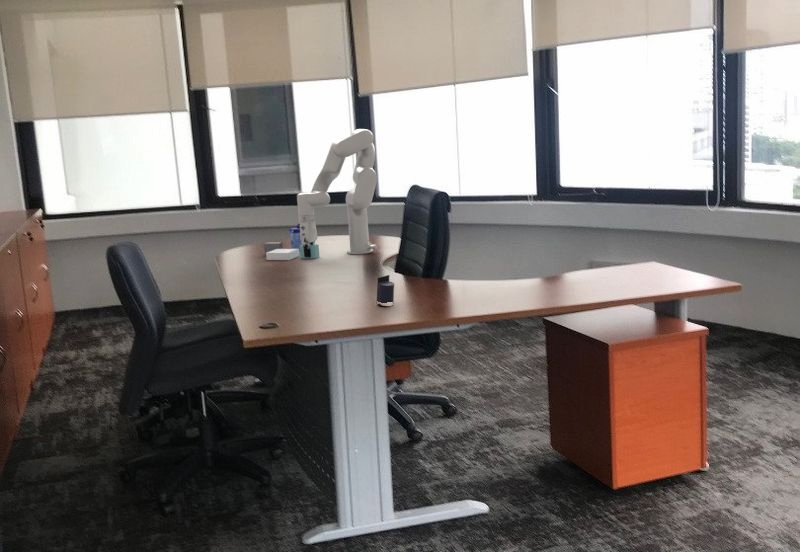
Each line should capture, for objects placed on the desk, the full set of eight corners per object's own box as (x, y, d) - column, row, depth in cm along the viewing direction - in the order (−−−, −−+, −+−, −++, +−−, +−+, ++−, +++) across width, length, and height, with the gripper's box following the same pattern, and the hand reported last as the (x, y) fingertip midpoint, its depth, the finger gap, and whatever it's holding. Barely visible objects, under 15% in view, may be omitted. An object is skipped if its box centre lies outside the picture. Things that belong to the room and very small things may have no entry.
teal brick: (319, 256, 440) (318, 244, 439) (315, 258, 436) (314, 245, 435) (304, 256, 443) (303, 244, 442) (300, 258, 439) (299, 246, 438)
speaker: (372, 303, 327) (373, 275, 325) (387, 302, 330) (388, 274, 327) (380, 309, 321) (381, 281, 318) (395, 308, 323) (396, 280, 320)
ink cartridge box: (295, 253, 456) (292, 224, 454) (290, 252, 461) (288, 223, 459) (312, 250, 461) (310, 222, 459) (308, 249, 466) (306, 221, 463)
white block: (299, 255, 448) (299, 248, 447) (289, 260, 436) (288, 252, 436) (277, 255, 452) (277, 248, 451) (266, 259, 440) (266, 252, 440)
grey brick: (283, 253, 457) (282, 242, 456) (279, 255, 453) (278, 243, 452) (269, 253, 460) (268, 242, 459) (265, 255, 456) (264, 243, 455)
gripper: (306, 220, 427) (309, 259, 430) (321, 215, 442) (324, 252, 446) (292, 221, 429) (295, 259, 433) (307, 216, 445) (310, 253, 448)
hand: (309, 255), depth 439 cm, fingers closed on teal brick, 4 cm apart
